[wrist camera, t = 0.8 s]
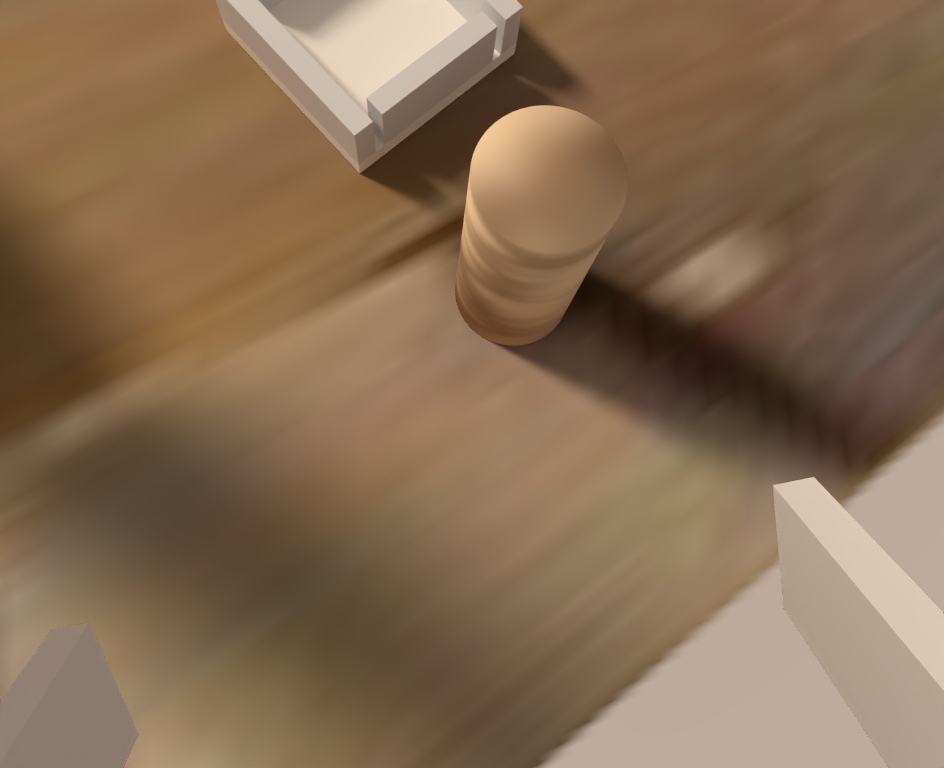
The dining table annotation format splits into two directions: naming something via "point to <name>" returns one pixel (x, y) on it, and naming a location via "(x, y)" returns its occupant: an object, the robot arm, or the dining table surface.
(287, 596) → the dining table surface
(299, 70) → the square tray
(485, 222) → the oak rail post
